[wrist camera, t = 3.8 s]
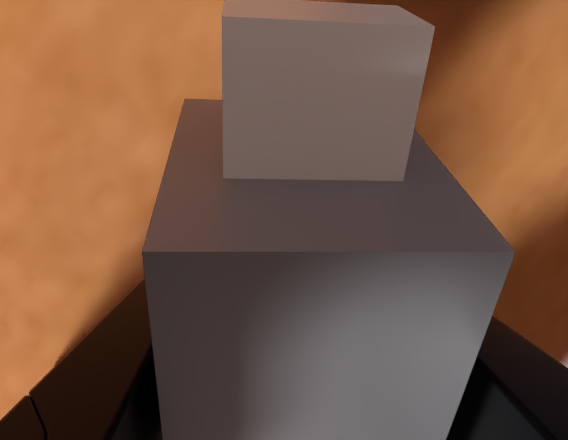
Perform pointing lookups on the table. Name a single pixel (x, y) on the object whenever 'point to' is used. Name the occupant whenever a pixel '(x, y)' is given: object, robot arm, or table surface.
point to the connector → (315, 239)
